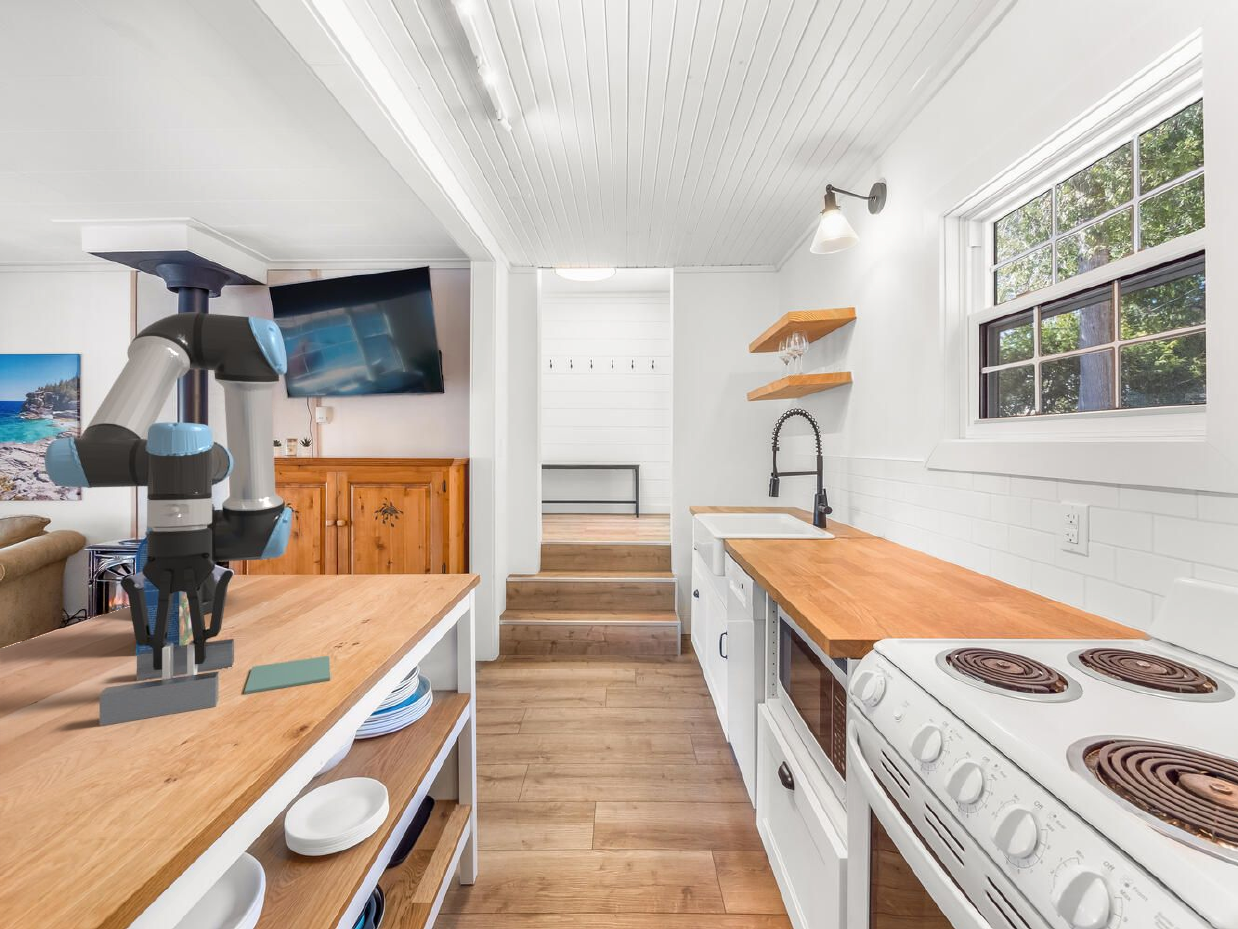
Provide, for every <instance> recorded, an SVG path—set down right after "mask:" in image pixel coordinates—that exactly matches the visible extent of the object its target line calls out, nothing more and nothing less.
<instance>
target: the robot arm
mask: <svg viewBox="0 0 1238 929" xmlns="http://www.w3.org/2000/svg"><path fill="white" fill-rule="evenodd" d="M126 355H127V358H128V361H127V362H126V363H125V364H124V367H123V368H122V370H121V372H120V373H119V375H118V377H117V378H116V379H115V382H114V383H113V385H112V386H111V388H110V389H109V391H108V392H107V395H106V396H105V398H104V399H103V401H101V402H102V403H101V404H100V406H99V407H98V409H97V410H96V412H95V413H94V416H93V417H92V418H91V420H90V421H89V423H88V425H87V427H86V428H85V429H84V431H83V433H82V434H81V435H80V437H75V436H70V437H62V438H56V439H55V440H53V441H51V442H50V443H49V444H48V446H47V448H46V451H45V455H44V468H45V472H46V474H47V476H48V478H49V480H50V481H51V482H52V483H53V484H55V485H56V486H57V485H58V486H59V487H64V488H65V487H67V488H68V487H69V488H87V489H93V488H120V487H121V488H125V487H129V488H130V487H147V488H146V490H147V492H146V493H147V495H146V496H147V498H146V502H147V503H146V531H145V533H144V534H145V536H146V537H147V561H146V564H145V565H144V567H143V569H142V571H141V572H139V573H137V574H136V573H135V574H133V575H129V576H127V577H125V578H122V580H121V581H120V583H119V584H120V586H121V587H122V589H123V590H124V592H125V593H126V595H127V598H128V602H129V603H128V604H129V608H130V615H131V620H132V627H133V633H134V638H135V645H136V644H137V645H139V646H143V645H145V646H150V647H152V649H153V668H154V670H161V669H162V679H169V678H174V676H173V643H167V644H166V641H167V640H168V638H167V636H168V629H169V622H170V614H171V607H172V600H173V596H174V592H177V591H182V592H186V595H187V599H188V604H189V611H190V618H191V626H192V640H190V641H189V643H188V644H186V645H187V674H186V676H190V675H196V674H198V672H197V664H203V662H204V660H205V658H206V642H207V640H210V639H211V638H216V637H217V636H218V635H219V634H220V632H221V629H222V626H223V618H224V611H225V607H226V600H227V594H228V593H227V592H228V587H229V583H230V581H231V580H232V578H233V576H234V575H235V574H236V573H235V570H234V568H225V567H222V566H220V565H217V562H218V563H220V562H221V563H222V562H237V561H263V560H272V559H279V558H280V557H282V556H283V555H284V554H285V553H286V550H287V547H288V544H289V539H290V534H291V528H292V520H293V513H292V512H293V510H292V508H290V507H288V506H284V499H283V498H282V497H281V496H279V495H278V494H277V493H276V476H275V475H276V474H275V471H276V470H275V449H274V447H275V446H274V445H275V444H274V425H273V424H274V423H273V422H274V421H273V420H274V419H273V400H272V398H273V396H272V393H273V392H272V390H273V388H274V387H276V386H277V385H278V384H279V383H280V376H282V375H285V374H286V373H287V371H288V360H287V359H288V358H287V351H286V347H285V341H284V338H283V335H282V331H281V329H280V328H279V326H278V324H277V323H276V322H275V321H273V320H271V319H268V318H267V319H266V318H259V317H253V316H242V315H240V316H239V315H229V314H228V315H227V314H219V313H218V314H217V313H204V312H196V311H188V312H181V313H175V314H171V315H169V316H166V317H163V318H161V319H159V320H157V321H154V322H153V323H151V324H150V325H148V326H146V327H145V328H143V329H142V330H141V331H140V332H139V333H137V334H136V336H135V337H134V338H133V339H132V341H131V342H130V344H129V345H128V348H127V354H126ZM190 370H192V371H193V370H202V371H213V372H214V381H215V382H217V383H218V384H219V385H221V386H222V388H223V392H224V411H225V428H226V445H227V446H226V447H227V448H226V447H225V446H224V445H222V444H221V443H218V442H217V441H214V440H213V432H212V431H213V430H212V429H211V427H210V426H209V425H207V424H203V423H196V422H195V423H193V422H170V421H169V422H168V421H167V422H157V419H158V417H159V415H160V413H161V411H162V410H163V407H164V406H165V403H166V401H167V399H168V397H169V395H171V394H170V393H171V391H172V389H173V388H174V385H175V383H176V382H177V379H180V378H182V377H184V376H185V375H186V374H187V373H188V372H189V371H190ZM227 478H228V480H229V496H228V498H225V500H224V501H223V502H222V509H216V507H215V505H214V504H213V496H212V495H213V493H212V492H213V490H212V488H213V486H214V485H217V484H219V483H222V482H223V481H224V480H226V479H227ZM146 537H145V538H146ZM145 578H147V579H148V580H149V581H150V582H151V583H152V584H153V585H154V586H155V587H156V588H157V589H158V590H159V594H158V607H157V614H156V622H155V629H154V635H151V630H150V624H149V619H148V613H147V607H146V601H145V595H144V590H143V588H142V587H143V586H144V585H145ZM207 613H208V614H211V617H210V621H209V622H210V623H209V628H206V627H207V626H206V621H205V615H207ZM162 679H161V680H162Z"/></svg>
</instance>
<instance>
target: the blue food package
mask: <svg viewBox="0 0 1238 929" xmlns="http://www.w3.org/2000/svg"><path fill="white" fill-rule="evenodd" d="M135 556H136V557H135V574H137V573H139V572H141V571H142V569H143V567H144V565H145V564H146V561H147V537H144V539H143V540H142V541H141V542H140V544H139V545H138V548H137V551H136V555H135ZM142 588H143V590H144V595H145V601H146V607H147V613H148V619H149V624H150V630H151V635H154V629H155V622H156V614H157V607H158V594H159V590H158V589H157V588H156V587H155V586H154V585H153V584H152V583H151V582H150V581H149V580H148V579H147V578H145V585H144V586H143V587H142ZM191 633H192V626H191V618H190V611H189V604H188V599H187V595H186V592H182V591H177V592H174V596H173V600H172V607H171V614H170V622H169V629H168V636H167V638H168V640H167V641H166V644H167V643H173V646H179V645H186V644H185V643H186V642H187V641H188V640H189V639H190V637H191V635H192V634H193V633H192V634H191ZM187 639H188V640H187ZM186 640H187V641H186ZM185 641H186V642H185ZM147 649H152V647H150V646H145V645H143V646H139V645H137V644H136V643H135V657H137V654H138V653H139V652H140V651H141V650H147Z"/></svg>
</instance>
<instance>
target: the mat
mask: <svg viewBox="0 0 1238 929" xmlns="http://www.w3.org/2000/svg"><path fill="white" fill-rule="evenodd" d="M330 667H331V665H330V655H324V656H323V655H322V656H318V657H312V658H311V657H310V658H304V659H297V660H289V661H284V662H283V661H282V662H277V663H269V664H263V665H256V666H252V667H251V670H250V671H249V672H250V674H249V676H248V679H247V682H246V685H245V688H244V691H243V692H244V693H243V695H247V694H253V693H259V692H260V693H261V692H265V691H272V690H273V691H274V690H277V689H283V688H290V687H298V686H303V685H309V684H314V683H320V682H327V681H331V671H330V669H331V668H330Z"/></svg>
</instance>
